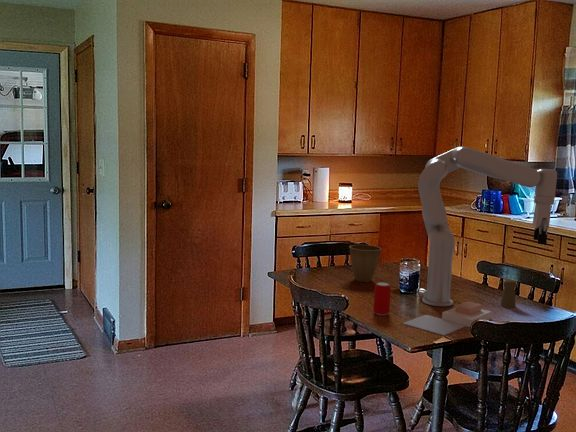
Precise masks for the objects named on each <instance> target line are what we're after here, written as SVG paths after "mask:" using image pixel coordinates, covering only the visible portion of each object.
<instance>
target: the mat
mask: <svg viewBox="0 0 576 432" xmlns="http://www.w3.org/2000/svg"><path fill="white" fill-rule="evenodd" d="M402 324H403V325H405V326H408V327H411V328H416V329H419V330H422V331H425V332H429V333H432V334H436V335H440V336H443V337H445V336H447V335H449V334H451V333H454V332H456V331H459V330H461V329H463V328H465V327H466V325H463V324H459V323H455V322H452V321H448V320H444V319H442V318H440V317H436V316H432V315H428V314H424V315H421V316H418V317H416V318H415V317H414V318H413V319H410V320H407V321H405V322H403V323H402Z"/></svg>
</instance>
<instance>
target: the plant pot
mask: <svg viewBox="0 0 576 432" xmlns="http://www.w3.org/2000/svg"><path fill="white" fill-rule="evenodd" d="M381 252H382V248H381V247H380V246H376V245H370V244H352V245H349V256H350V264H351V270H352V274H353V276H354V277H353V278H354V279H355V281H357V282H360V283H370V282H371V281H372V279H373V277H374V274H375V272H376V270H377V266H378V264H379V261H380V256H381Z"/></svg>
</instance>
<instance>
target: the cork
mask: <svg viewBox="0 0 576 432" xmlns="http://www.w3.org/2000/svg"><path fill="white" fill-rule="evenodd" d="M502 286H503V290H502V291H503V292H502V297H501V300H500V305H499V306H500V307H501V308H507V309H515V308H516V306H517V305H516V290H515V289H516V288H517V282H516V281H515V280H512V279H506V280H504V281H503V283H502Z"/></svg>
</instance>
